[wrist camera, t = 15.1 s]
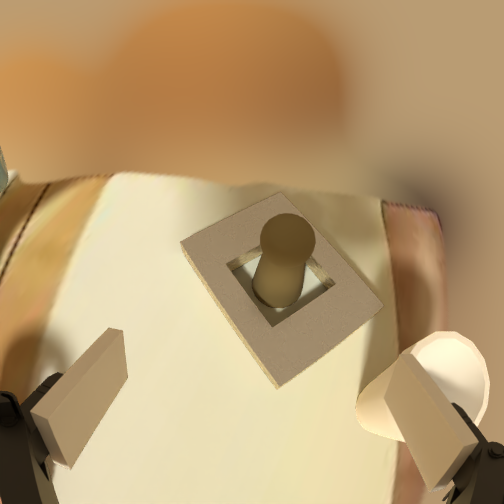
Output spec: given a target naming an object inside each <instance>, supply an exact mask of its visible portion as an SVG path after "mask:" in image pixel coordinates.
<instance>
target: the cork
mask: <svg viewBox="0 0 504 504" xmlns="http://www.w3.org/2000/svg"><path fill="white" fill-rule="evenodd" d="M315 244H316V239H315V232H314V230H313V228H312V227H311V225H310V224H309V223H308V222H307V221H306V220H305V219H304V218H302V217H300V216H299V215H295V214H292V213H283V214H279V215H276V216H274V217H273V218H271V219H269V220H268V221H267V222H266V223H265V225H264V226H263V228H262V231H261V234H260V246H261V249H262V251H263V253H262V255H261V258H260V261H259V264H258V266H257V269H256V272H255V274H254V277H253V280H252V289H253V292H254V294H255V296H256V297H257V298H258V300H259V301H260V302H262V303H263V304H265V305H266V306H269V307H273V308H284V307H287V306H290V305H292V304H293V303H295V302H296V301H297V300H298V298H299V297H300V295H301V292H302V288H303V279H304V270H305V262H306V261H307V260H308V259H309V258H310V256H311V255H312V253H313V251H314V248H315Z"/></svg>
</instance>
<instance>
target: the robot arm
mask: <svg viewBox="0 0 504 504" xmlns="http://www.w3.org/2000/svg"><path fill="white" fill-rule="evenodd" d="M7 183H8V172H7V168H6V164H5V160H4V157H3V154H2V151H1V147H0V193H1V192H2V191H3V190H4V189H5V187H6V186H7ZM127 378H128V373H127V365H126V357H125V347H124V337H123V331H122V330H117V329H112V328H108V329H107V330H106V331H105V332H104V333H103V334H102V335H101V336H100V337H99V338H98V339H97V340H96V341H95V342H94V343H93V344H92V345H91V346H90V347H89V349H88V350H87V351H86V352H85V353H84V354H83V355H82V356H81V357H80V358H79V359H78V360H77V361H76V362H75V363H74V364H73V365H72V366H71V367H70V368H69V369H68V370H67V372H66V373H65V374H62V373H59V372H57V373H55V374H53V375H51V376H49V377H48V378H47V379H46V380H45V381H44V382H43V383H42V384H41V386H39V387H38V388H37V389H36V391H34V392H33V393H32V394H31V395H30V396H29V397H28V398H27V399H26V400H25V401H24V402H23V403H22V404H21V405H20V406H19V403H18V401H17V398H16V396H15V395H14V394H13V393H11V392H8V391H0V497H1V502H2V504H59V502H58V499H57V496H56V493H55V490H54V487H53V483H52V480H51V476H50V473H49V469H48V465H47V463H46V461H45V459H46V457H47V456H48V455H50V456H51V458H52V460H53V462H54V463H55V464H57V465H59V466H62V467H64V468H66V469H69V470H71V469H72V467H73V465H74V464H75V462H76V460H77V459H78V457H79V455H80V454H81V452H82V450H83V449H84V447H85V445H86V444H87V442H88V440H89V439H90V437H91V436H92V434H93V432H94V431H95V429H96V427H97V426H98V424H99V423H100V421H101V419H102V418H103V416H104V415H105V413H106V411H107V410H108V408H109V407H110V405H111V404H112V402H113V400H114V399H115V397H116V396H117V394H118V393H119V391H120V389H121V388H122V386H123V385H124V383H125V382H126V380H127ZM384 400H385V402H386V404H387V406H388V408H389V410H390V412H391V414H392V416H393V418H394V420H395V422H396V424H397V426H398V428H399V430H400V432H401V434H402V436H403V438H404V440H405V442H406V444H407V446H408V448H409V450H410V452H411V454H412V456H413V459H414V461H415V463H416V465H417V467H418V469H419V471H420V473H421V475H422V478H423V480H424V482H425V484H426V486H427V489H428V491H429V493H431V492H434V491H438V490H441V489H444V488H445V487H446V486H447V485H448V483H449V482H450V481H451V480H453V482H454V484H455V485H454V486H453V487H452V489H451V490H450V491H449V492H448V493H447V495H446V496H445V497H444V498H443V500H442V501H445V500H446V499H447V497H448V500H447V503H446V504H504V446H503V445H502V444H500V443H497V442H489V443H488V442H487V440H486V439H485V437H484V436H483V435H482V433H481V432H480V431H479V429H478V428H477V426H476V425H475V424H474V423H472V422H473V421H472V420H471V419H470V417H468V415H467V413H466V412H465V411H464V409H463V408H462V407H460V406H459V405H457V404H456V403H450V401H449V400H448V399H447V397H446V396H445V395H444V394H443V392H442V391H441V390H440V388H439V387H438V386H437V384H436V383H435V382H434V381H433V379H432V378H431V377H430V375H429V374H428V373H427V372H426V370H425V369H424V368H423V367H422V365H421V364H420V363H419V362H418V360H417V359H416V358H415V357H414V355H413V354H399V356H398V359H397V362H396V365H395V368H394V371H393V374H392V377H391V380H390V382H389V385H388V388H387V390H386V393H385V396H384Z"/></svg>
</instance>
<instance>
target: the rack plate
mask: <svg viewBox="0 0 504 504" xmlns="http://www.w3.org/2000/svg"><path fill="white" fill-rule="evenodd" d="M283 213H292V214H295V215H299V216H300V217H302V218H304V219H305V220H306V221H307V222H308V223H309V224H310V225H311V227H312V228H313V230H314V232H315V239H316V244H315V248H314V251H313V253H312V255H311V256H310V258H309V259H308V260H307V261H306V262H305V263H306V265H307V266H308V267H309V268H310V269H311V270H312V272H313V273H314V274H315V275H316V276H317V277H318V279H319V280H320V281H321V282H322V283H323V285H324V286H325V287H326V288H327V289H328V290H327V291H326V292H324V293H323V294H321V295H320V296H318V297H317V298H316V299H314V300H313V301H311V302H310V303H308V304H307V305H305V306H304V307H302V308H301V309H299V310H298V311H297V312H295V313H294V314H292V315H291V316H289V317H288V318H286V319H285V320H283V321H282V322H280V323H278V324H277V325H275V326H274V327H271V325H270V324H269V323H268V321H267V320H266V319H265V317H264V316H263V314H262V313H261V312H260V310H259V309H258V308H257V306H256V305H255V304H254V302H253V301H252V300H251V298H250V297H249V296H248V294H247V293H246V291H245V290H244V289H243V287H242V286H241V285H240V283H239V282H238V280H237V279H236V278H235V276H234V275H233V274H232V272H231V271H233V270H235V269H236V268H238V267H240V266H242V265H244V264H245V263H247V262H249V261H251V260H252V259H254V258H256V257H258V256H260V255H261V254H262V253H263V251H262V249H261V246H260V234H261V231H262V228H263V226H264V225H265V223H266V222H267V221H268V220H269V219H271V218H273V217H274V216H276V215H279V214H283ZM180 244H181V247H182V251H183V254H184V255H185V257H186V258H187V260H188V262H189V263H190V265H191V266H192V268H193V269H194V271H195V273H196V274H197V276H198V277H199V279H200V280H201V282H202V283H203V285H204V286H205V288H206V289H207V291H208V292H209V294H210V295H211V297H212V298H213V300H214V301H215V303H216V304H217V306H218V307H219V309H220V310H221V312H222V313H223V315H224V316H225V318H226V319H227V321H228V322H229V324H230V325H231V327H232V328H233V329H234V331H235V332H236V334H237V335H238V337H239V338H240V339H241V341H242V342H243V344H244V345H245V347H246V348H247V349H248V351H249V352H250V354H251V355H252V356H253V358H254V359H255V361H256V362H257V363H258V365H259V366H260V368H261V369H262V370H263V372H264V373H265V374H266V376H267V377H268V379H269V380H270V381H271V383H272V384H273V385H274V387H275V388H276V389H277V390H278V389H279V388H280V387H282V386H283V385H285V384H286V383H288V382H289V381H291V380H292V379H293V378H295V377H296V376H298V375H299V374H300V373H302V372H303V371H305V370H306V369H307V368H309V367H310V366H311V365H313V364H314V363H315V362H317V361H318V360H319V359H321V358H322V357H323V356H325V355H326V354H327V353H329V352H330V351H331V350H333V349H334V348H335V347H336V346H338V345H339V344H340V343H341V342H343V341H344V340H345V339H346V338H348V337H349V336H350V335H351V334H353V333H354V332H355V331H356V330H357V329H359V328H360V327H361V326H362V325H363V324H365V323H366V322H367V321H368V320H369V319H371V318H372V317H373V316H374V315H375V314H376V313H377V312H378V311H379V310H380V309H381V308H382V307H383V306H384V305H383V304H382V302H381V301H380V300H379V299H378V298H377V297H376V295H375V294H374V293H373V292H372V291H371V290H370V288H369V287H368V286H367V285H366V284H365V283H364V281H363V280H362V279H361V278H360V277H359V276H358V275H357V273H356V272H355V271H354V270H353V269H352V268H351V267H350V266H349V264H348V263H347V262H346V261H345V260H344V259H343V258H342V257H341V255H340V254H339V253H338V252H337V251H336V250H335V249H334V248H333V247H332V246H331V244H330V243H329V242H328V241H327V240H326V239H325V238H324V237H323V236H322V235H321V234H320V233H319V231H318V230H317V229H316V228H315V227H314V226H313V225H312V224H311V223H310V222H309V221H308V220H307V219H306V218H305V217H304V216H303V214H302V213H301V212H300V211H299V210H298V209H297V208H296V207H295V206H294V205H293V204H292V203H291V202H290V201H289V200H288V199H287V198H286V197H285V196H284V195H283V194H282V193H281V192H279V193H277V194H275V195H273V196H271V197H269V198H267V199H265V200H262V201H260V202H258V203H256V204H254V205H252V206H250V207H248V208H246V209H244V210H242V211H240V212H238V213H236V214H234V215H232V216H230V217H228V218H226V219H224V220H222V221H220V222H218V223H216V224H214V225H212V226H210V227H208V228H206V229H204V230H202V231H200V232H198V233H196V234H194V235H192V236H190V237H188V238H186V239H185V240H183V241H181V242H180Z"/></svg>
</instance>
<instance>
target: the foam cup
mask: <svg viewBox="0 0 504 504" xmlns="http://www.w3.org/2000/svg"><path fill="white" fill-rule="evenodd" d="M401 354H413V355H414V357H415V358H416V359H417V360H418V362H419V363H420V364H421V365H422V367H423V368H424V369H425V370H426V372H427V373H428V374H429V375H430V377H431V378H432V379H433V381H434V382H435V383H436V384H437V386H438V387H439V388H440V390H441V391H442V392H443V394H444V395H445V396H446V397H447V399H448V400H449V401H450V403H456V404H457V405H459V406H460V407H462V408H463V409H464V411H465V412H466V413H467V415H468V417H470V419H471V420H472V421H473V422H472V423H474V424H475V425H476V426H478V424H479V423H480V420H481V419H482V417H483V415H484V413H485V410H486V408H487V404H488V396H489V386H490V381H489V377H488V372H487V368H486V363H485V360H484V358H483V357H482V355H481V354H480V352H479V351H478V349H477V348H476V346H475V345H474V343H473V342H472V341H470V340H468V339H467V338H465V337H463V336H462V335H460V334H458V333H457V332H442V331H436V332H434V333H432V334H431V335H429V336H427V337H426V338H424V339H422V340H420V341H419V342H417V343H415V344H414V345H412V346H410V347H409V348H407V349H405V350H404V351H403V352H402V353H401ZM396 362H397V360H396V361H395V362H394V363H392V364H391V365H390V366H389V367H388V368H387V369H386V370H384V371H383V372H382V373H381V374H380V375H379V376H377V377H376V378H375V379H374V380H373V381H371V382H370V383H369V384H368V385H367V386H366V387H365V388H364V389H363V391H362V392H361V393H360V394H359V396H358V400H357V403H356V407H355V408H356V414H357V420H358V421H359V422H360V424H361V425H362V426H363V428H364V429H366V430H368V431H370V432H372V433H375V434H377V435H381V436H384V437H388V438H391V439H395V440H399V441H403V442H405V440H404V438H403V436H402V434H401V432H400V430H399V428H398V426H397V424H396V422H395V420H394V418H393V416H392V414H391V412H390V410H389V408H388V406H387V404H386V402H385V400H384V396H385V393H386V390H387V388H388V385H389V382H390V380H391V377H392V374H393V371H394V368H395V365H396Z"/></svg>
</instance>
